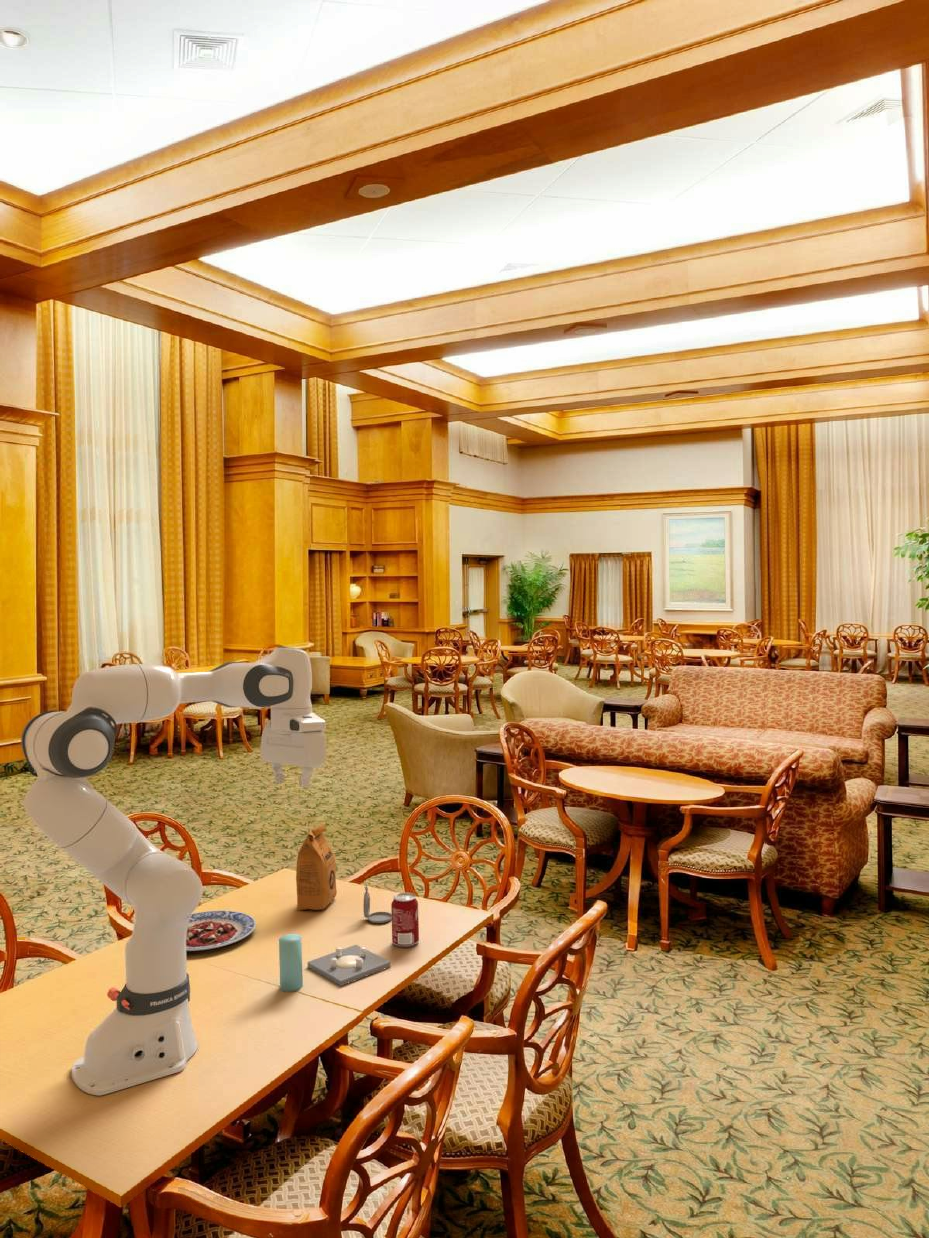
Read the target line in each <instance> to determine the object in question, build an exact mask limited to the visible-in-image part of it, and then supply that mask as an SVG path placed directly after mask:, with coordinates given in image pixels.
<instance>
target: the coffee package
mask: <svg viewBox="0 0 929 1238" xmlns="http://www.w3.org/2000/svg"><path fill="white" fill-rule="evenodd" d="M326 830H327V827H326V826H325V824H320V825H318V826H316V827H314V828H313V829H311V830H310V831H309V832H308V834H307V835H306V837H305V839H304V841H303V843H302V845H301V846H300V849H299V851H298V853H297V858H296V869H295V870H296V874H295V882H296V899H297V901H296V902H297V906H296V907H297V908H296V910H298V911H304V910H314V911H319V910H324V909H325V908H326V907H328V905H329V904H331V903H332V902H333V900H335V899H336V897H337V880H336V876H337V875H336V874H337V867H336V866H337V863H336V862H337V861H336V858H335V855H334V852H333V850H332V848H331V847H330V845H329V844H328V842H327V839H326V837H325V834H324V832H325V831H326Z"/></svg>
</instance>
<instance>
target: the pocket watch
mask: <svg viewBox="0 0 929 1238" xmlns="http://www.w3.org/2000/svg"><path fill="white" fill-rule="evenodd" d="M364 885H365V886H364V890H365V892H364V896H363V917H364V918H367V920H368V922H370V923H372V924H384V923H387V922H389V921H392V912H387V911H378V912H377V911H376V912H373V913H370V911H371V910H370V909H371V908H370V907H371V905H370V904H371V898H370V897H371V896H370V893H369V888H368V886H367V883H364Z"/></svg>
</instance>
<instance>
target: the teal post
mask: <svg viewBox="0 0 929 1238" xmlns="http://www.w3.org/2000/svg"><path fill="white" fill-rule="evenodd" d="M302 939H303V938H302V935H300V934H297V933H288V934H284V935H282V936H280V937H279V938H278V955H279V987H280V990H281V989H282V990H283V991H282V990H281V991H282V992H286V991H287V992H288V991H292V992H295V990H297V991H299V990H300V988H301V987H302V988H303V987H304V982H303V981H304V979H303V976H304V975H303V947H302V946H303V944H302V943H303V942H302ZM302 988H301V989H302ZM298 989H299V990H298ZM287 992H286V993H287ZM288 993H289V992H288Z"/></svg>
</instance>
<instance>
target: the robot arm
mask: <svg viewBox="0 0 929 1238" xmlns="http://www.w3.org/2000/svg"><path fill="white" fill-rule="evenodd" d="M312 672H313V671H312V663H311V657H310V655H309V654H308V652H306V651H305V650H304V649H301V648H297V647H290V646H277V647H275V648H273V651H272V652H270V653H269V654H268V655H265V656H264V657H263V658H261V659H258V660H255V661H254V662H240V661H227V662H225V663H223V664H220V665H218V666H217V667H215V668H213V669H211V670H208V671H197V672H196V671H195V672H182V673H181V672H176V671H175V669H173V668H172V667H171V666H166V665H161V664H153V663H151V664H149V663H133V664H121V665H119V664H118V665H112V666H105V667H101V668H97V669H92V670H89V671H86V672H84V673H82V674H81V675H80V676H78V677H77V679H76V681H75V683H74V684H73V687H72V692H71V693H72V694H71V696H72V697H71V703H70V705H69V706H68V708H67V709H66V711H65V710H64V711H62V710H58V709H56V710H48V711H44V712H41V713H39V714H37V715H35V716H34V717H32V718H31V719H30V720H29V721H28V722H27V723H26V725H25V726H24V727H23V730H22V733H21V739H20V743H21V748H22V752H23V755H24V758H25V759H26V763H27V769H28V771H29V773H30V774H31V775H32V776H34V777H35V778H37V779H36V780H35V781H34V782H33V783H32V785H31V786H30V787H29V789H28V790H27V792H26V794H25V796H24V800H23V807H24V811H25V813H26V814H27V816H28V817H29V819H30V820H31V821H32V822H33V823H34V824H35V826H36V827H37V828H38V829H39V830H40V831H41V832H42V834H43V835H45V836H46V837H47V838H48V839H49V840H50V841H51V842H53V843H54V844H55V846H57V847H58V848H59V849H61V850H62V851H64V853H66V854H67V855H68V856H70V857H71V858H72V859H73V860H74V861H76V862H77V863H78V864H79V865H81V866H82V867H84V869H85V870H87V871H88V872H90V874H92V875H93V877H95V879H96V880H98V881H99V882H101V884H103V885H104V886H105V887H107V889H108V890H110V891H111V892H112V893H113V894H114V895H116V897H118V898H120V900H121V901H123V902H124V903H126V904H128V905H130V906H132V908H133V911H134V923H133V924H134V925H133V929H132V932H131V936H130V937H129V939H128V940H127V942H126V944H125V947H124V952H125V953H124V954H125V984H124V986H123V987H122V989H121V991H120V990H119V989H118V988H117V987H114V986H113V987H110V988H109V989H108V991H107V994H106V995H107V997H108V999H110V1000H111V1001H112V1002H115V1003H116V1004H115V1005H116V1007H115V1008H114V1009H113V1010H112V1011H111V1012H110V1013H109V1014H108V1016H106V1018H104V1019H103V1020H102V1021H101V1022H100V1023H99V1024H98V1025H97V1026H96V1027H95V1028H94V1029H93V1030H92V1031H91V1032H90V1033H89V1035H88V1036H87V1040H86V1043H85V1048H84V1054H83V1055H84V1056H82V1057H80V1058H78V1059H76V1060H75V1061H74V1062H73V1063H72V1065H71V1066H72V1067H71V1071H70V1072H71V1078H72V1081H73V1082H74V1084H75V1085H76V1086H77V1087H78V1088H79V1089H80V1090H81V1091H83V1092H84V1093H86V1094H89V1095H93V1096H99V1097H100V1096H104V1095H108V1094H110V1093H114V1092H117V1091H120V1090H124V1089H127V1088H130V1087H133V1086H137V1085H141V1084H144V1083H148V1082H150V1081H153V1080H157V1079H160V1078H163V1077H166V1076H170V1075H173V1074H176V1073H180V1072H181V1071H184V1070H185V1068H186V1065H187V1062H188V1060H190V1058H191V1057H193V1055H194V1054H195V1052H196V1051H197V1049H198V1047H199V1043H198V1040H197V1038H196V1035H195V1032H194V1028H193V1023H192V1018H191V1011H190V1000H191V995H190V994H191V985H190V984H191V983H190V976H189V973H188V971H187V970H188V969H187V968H188V967H187V951H186V936H187V930H188V925H189V920H190V916H191V914H194V912H195V911H196V909H197V908H198V907H199V905H200V902H201V900H202V898H203V891H204V889H203V882H202V881H201V878H200V877H199V875H198V874H197V872H196V871H195V870H194V869H193V868H192V867H191V866H190V865H189V864H187V863H186V862H184V861H182V860H181V859H179V858H176V857H174V856H173V855H170V854H168V853H166V852H164V851H162V850H161V849H159V848H157V847H156V846H155V845H154V844H153V843H151V841H149V840H148V838H147V837H146V836H145V835H144V834H143V833H142V832H141V831H140V830H139V829H138V827H137V825H136V824H135V823H134V821H132V820H131V819H130V818H129V817H128V816H126V815H125V814H124V812H122V811H120V810H119V809H118V808H117V807H116V806H114V804H112V803H111V801H109V800H108V799H107V798H105V796H103V795H102V794H101V793H100V792H99V791H97V790H95V788H94V787H93V786H92V785H91V783H90V781H89V779H88V777H91V776H94V775H96V774H98V773H99V772H101V771H102V770H103V769H105V767H106V766H107V765H108V764H109V763H110V761H111V759H112V756H113V754H114V749H115V739H116V735H117V733H118V725H121V724H129V723H131V724H132V723H140V722H141V723H142V722H148V721H154V720H157V719H162V718H165V717H169V716H172V715H173V714H174V713H175V711H176V710H177V708H178V707H179V705H180V704H181V705H182V704H186V703H188V704H189V703H198V702H213V703H214V704H218V705H220V706H223V707H227V708H247V709H248V708H249V709H251V708H252V709H263V708H267V707H270V719H269V720H267V721H266V723H265V724H264V728H263V730H262V732H261V733H262V734H261V740H260V751H259V752H260V759H261V760H262V761H264V762H268V763H269V762H270V769H271V771H272V773H273V775H274V776H273V779H274V780H273V781H274V783H276V784H282V783H285V782H286V779H285V778H286V777H285V776H286V774H284V773H283V770H282V767H283V765H292V766H296V767H297V766H298V767H300V768H301V769H300V771H301V772H302V773H301V776H300V778H299V779H298V787H300V788H303V789H304V788H309V787H310V783H311V781H310V779H311V777H312V774H313V772H314V768H319V767H323V766H324V764H325V762H326V757H327V741H326V735H325V733H324V732H323V731H326V729H327V722H326V721H325V720H324V719H323V718H322V717H319V715H317V714H316V713H315V712H313V705H312V699H311V693H312V689H313V675H312V674H313V673H312Z"/></svg>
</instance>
